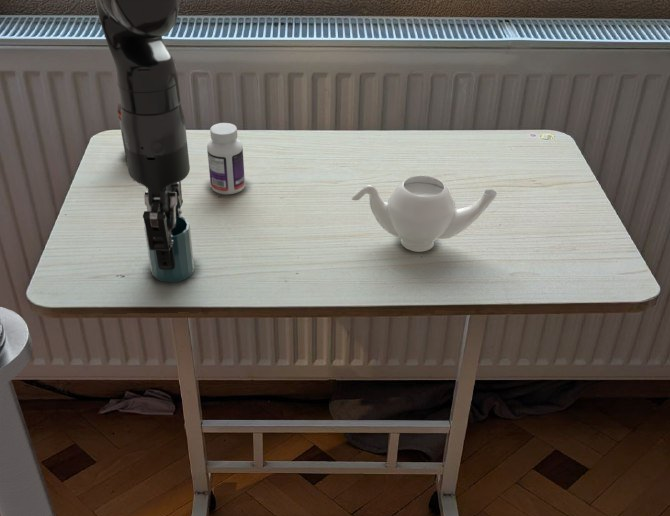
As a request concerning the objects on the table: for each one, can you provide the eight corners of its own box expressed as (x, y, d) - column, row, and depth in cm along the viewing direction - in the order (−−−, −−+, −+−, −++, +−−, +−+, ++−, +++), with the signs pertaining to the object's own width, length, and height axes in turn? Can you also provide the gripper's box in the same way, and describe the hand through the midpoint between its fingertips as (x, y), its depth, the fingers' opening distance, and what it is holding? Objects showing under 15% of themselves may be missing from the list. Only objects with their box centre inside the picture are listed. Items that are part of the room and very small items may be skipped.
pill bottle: (239, 176, 134) (236, 118, 127) (249, 192, 130) (246, 133, 123) (206, 181, 132) (201, 123, 126) (215, 197, 129) (210, 138, 122)
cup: (168, 287, 112) (162, 243, 107) (143, 269, 115) (135, 225, 110) (202, 270, 115) (198, 226, 110) (177, 253, 118) (171, 209, 113)
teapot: (353, 219, 125) (356, 162, 119) (486, 232, 124) (496, 175, 117) (345, 254, 118) (347, 196, 112) (486, 268, 117) (496, 210, 110)
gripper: (135, 111, 106) (151, 225, 118) (112, 166, 96) (133, 285, 108) (193, 113, 106) (204, 226, 118) (177, 168, 96) (191, 286, 108)
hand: (170, 254), depth 113 cm, fingers closed on cup, 5 cm apart
